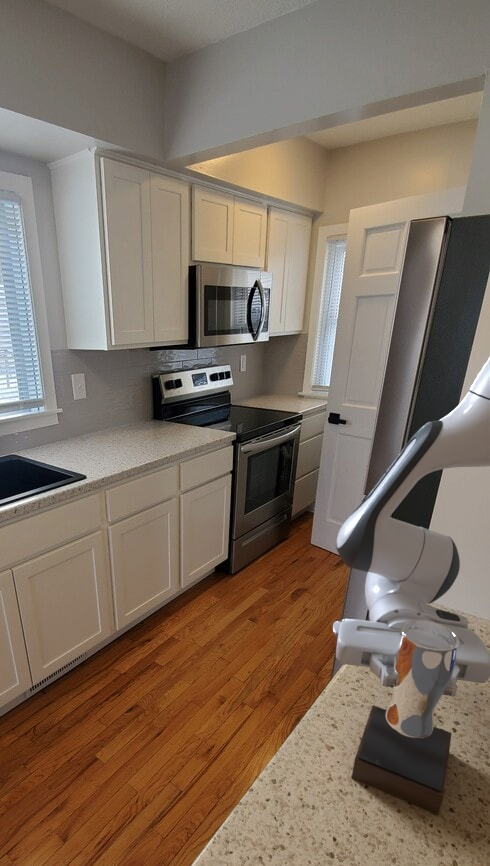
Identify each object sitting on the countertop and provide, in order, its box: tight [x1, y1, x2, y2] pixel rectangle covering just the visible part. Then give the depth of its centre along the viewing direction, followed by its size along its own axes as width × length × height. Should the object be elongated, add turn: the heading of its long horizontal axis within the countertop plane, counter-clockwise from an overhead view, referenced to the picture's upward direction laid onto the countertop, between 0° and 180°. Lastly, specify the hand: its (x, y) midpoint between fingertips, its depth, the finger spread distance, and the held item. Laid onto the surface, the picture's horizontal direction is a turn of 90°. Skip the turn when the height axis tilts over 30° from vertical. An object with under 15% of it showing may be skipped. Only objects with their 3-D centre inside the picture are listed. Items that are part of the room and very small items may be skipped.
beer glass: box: [385, 619, 459, 739], centre depth 65 cm, size 7×7×15 cm
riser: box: [351, 705, 452, 816], centre depth 70 cm, size 12×11×4 cm
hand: (419, 687), depth 64 cm, fingers closed on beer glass, 6 cm apart
